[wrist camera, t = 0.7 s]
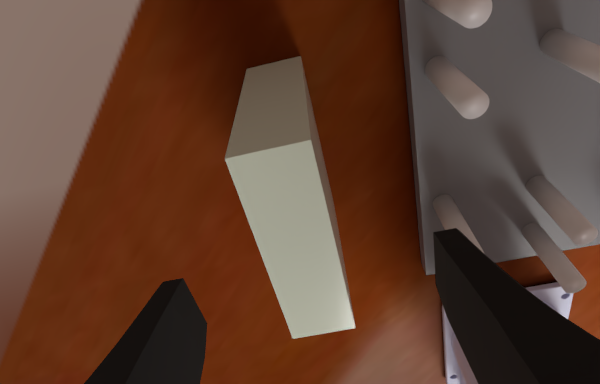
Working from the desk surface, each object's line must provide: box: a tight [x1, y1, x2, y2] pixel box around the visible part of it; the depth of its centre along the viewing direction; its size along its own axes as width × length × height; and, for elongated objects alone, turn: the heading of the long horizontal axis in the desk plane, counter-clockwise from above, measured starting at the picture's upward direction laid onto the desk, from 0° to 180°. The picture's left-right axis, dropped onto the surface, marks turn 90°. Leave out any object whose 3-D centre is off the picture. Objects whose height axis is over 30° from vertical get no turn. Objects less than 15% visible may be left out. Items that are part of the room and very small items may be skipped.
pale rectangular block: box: [225, 56, 355, 339], centre depth 17 cm, size 8×2×8 cm, turn 13°
